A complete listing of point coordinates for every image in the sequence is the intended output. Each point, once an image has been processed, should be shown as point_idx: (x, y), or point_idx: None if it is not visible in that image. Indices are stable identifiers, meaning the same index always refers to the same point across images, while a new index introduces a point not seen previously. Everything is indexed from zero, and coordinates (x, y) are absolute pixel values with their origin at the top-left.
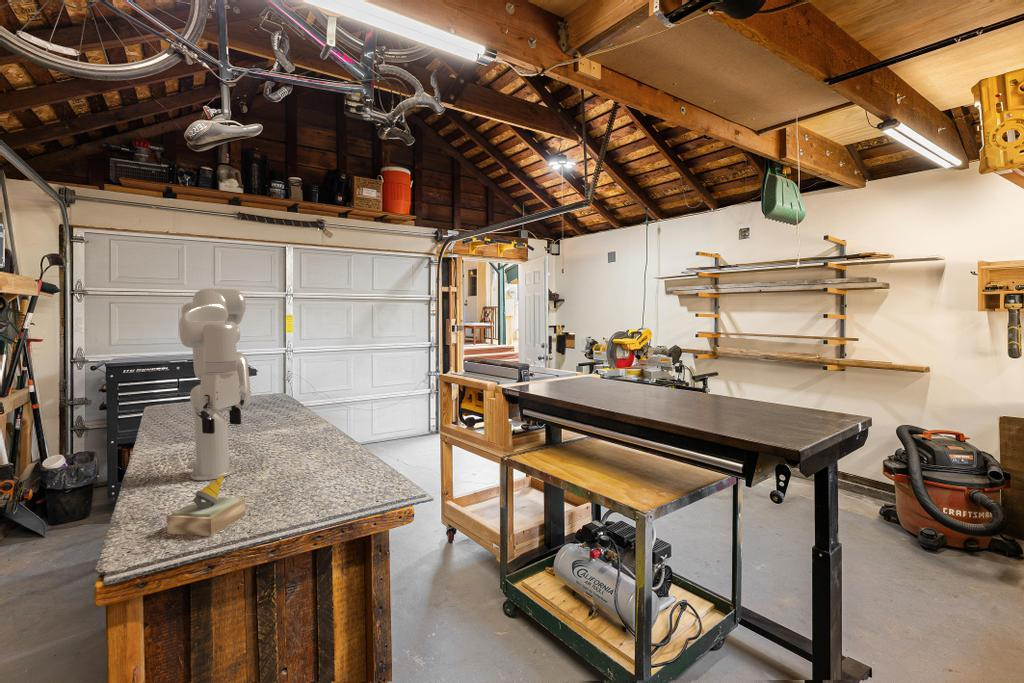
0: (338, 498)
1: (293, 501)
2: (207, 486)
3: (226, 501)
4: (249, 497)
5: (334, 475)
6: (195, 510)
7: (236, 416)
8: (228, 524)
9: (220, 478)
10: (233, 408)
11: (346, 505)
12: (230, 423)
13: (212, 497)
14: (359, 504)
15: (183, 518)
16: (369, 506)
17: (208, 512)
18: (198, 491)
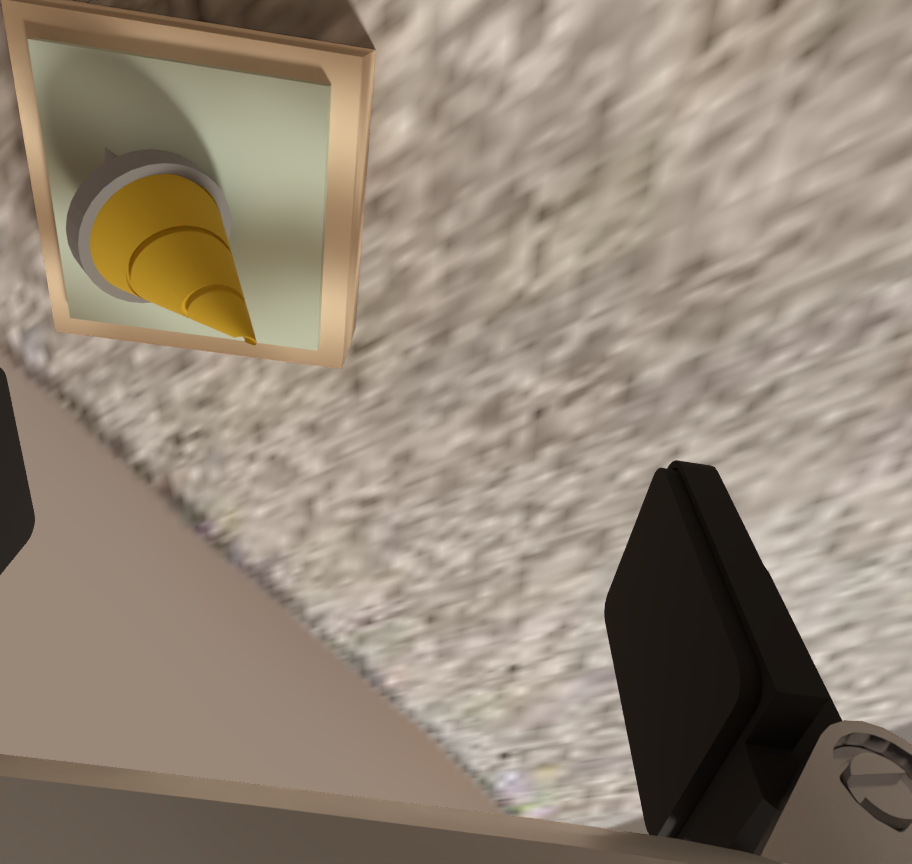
0: (547, 639)
1: (528, 481)
2: (143, 253)
3: (263, 301)
4: (620, 214)
5: (897, 542)
6: None
7: (643, 697)
8: None
9: (215, 328)
10: (748, 831)
11: (467, 681)
12: (654, 478)
13: (129, 300)
14: (475, 715)
15: (28, 143)
16: (454, 744)
17: (91, 290)
18: (81, 213)
